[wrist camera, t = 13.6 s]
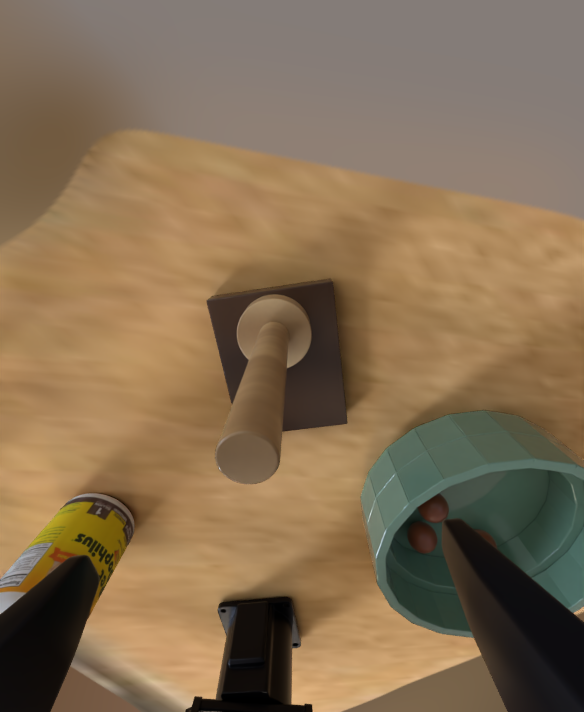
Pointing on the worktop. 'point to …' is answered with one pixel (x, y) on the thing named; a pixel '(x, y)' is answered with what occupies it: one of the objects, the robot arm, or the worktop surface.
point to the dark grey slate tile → (307, 377)
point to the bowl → (475, 510)
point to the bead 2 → (422, 537)
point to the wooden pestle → (262, 387)
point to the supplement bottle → (72, 544)
